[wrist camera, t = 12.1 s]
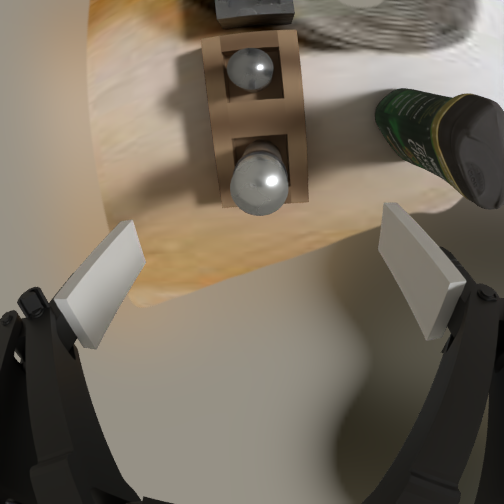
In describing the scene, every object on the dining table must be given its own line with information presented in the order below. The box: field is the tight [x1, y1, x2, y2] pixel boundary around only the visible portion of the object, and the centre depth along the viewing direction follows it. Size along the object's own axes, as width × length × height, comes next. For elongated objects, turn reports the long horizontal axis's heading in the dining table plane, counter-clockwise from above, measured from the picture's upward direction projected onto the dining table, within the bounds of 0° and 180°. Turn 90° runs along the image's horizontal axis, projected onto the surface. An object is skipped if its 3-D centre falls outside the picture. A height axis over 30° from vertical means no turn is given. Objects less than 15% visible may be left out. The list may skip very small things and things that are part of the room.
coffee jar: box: [375, 88, 504, 209], centre depth 21 cm, size 10×8×19 cm
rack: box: [201, 30, 309, 208], centre depth 29 cm, size 20×10×4 cm, turn 6°
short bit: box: [227, 48, 273, 93], centre depth 23 cm, size 4×4×8 cm
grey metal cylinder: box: [230, 139, 288, 216], centre depth 26 cm, size 5×5×13 cm
